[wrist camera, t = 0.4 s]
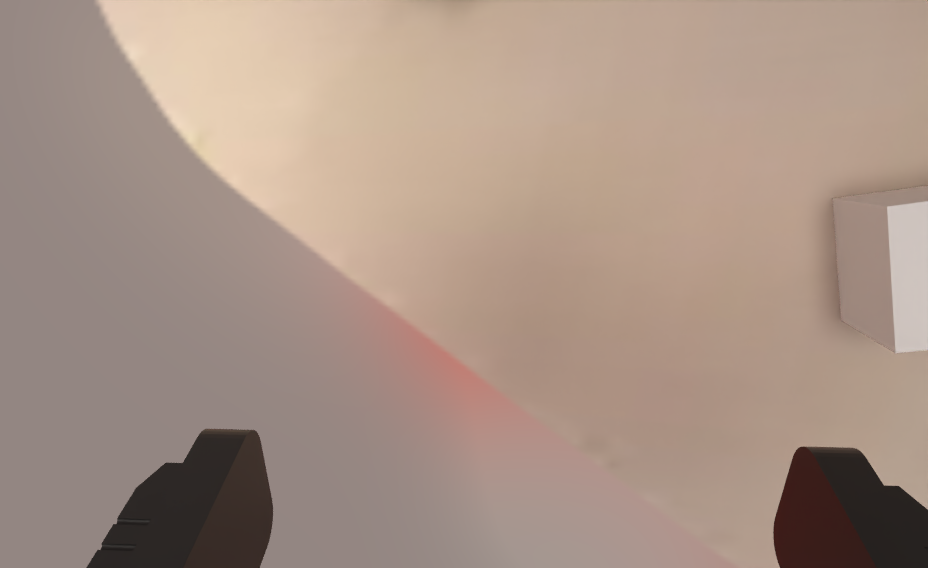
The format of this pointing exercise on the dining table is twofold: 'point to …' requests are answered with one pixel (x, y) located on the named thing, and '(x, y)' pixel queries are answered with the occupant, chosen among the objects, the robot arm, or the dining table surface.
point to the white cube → (884, 266)
